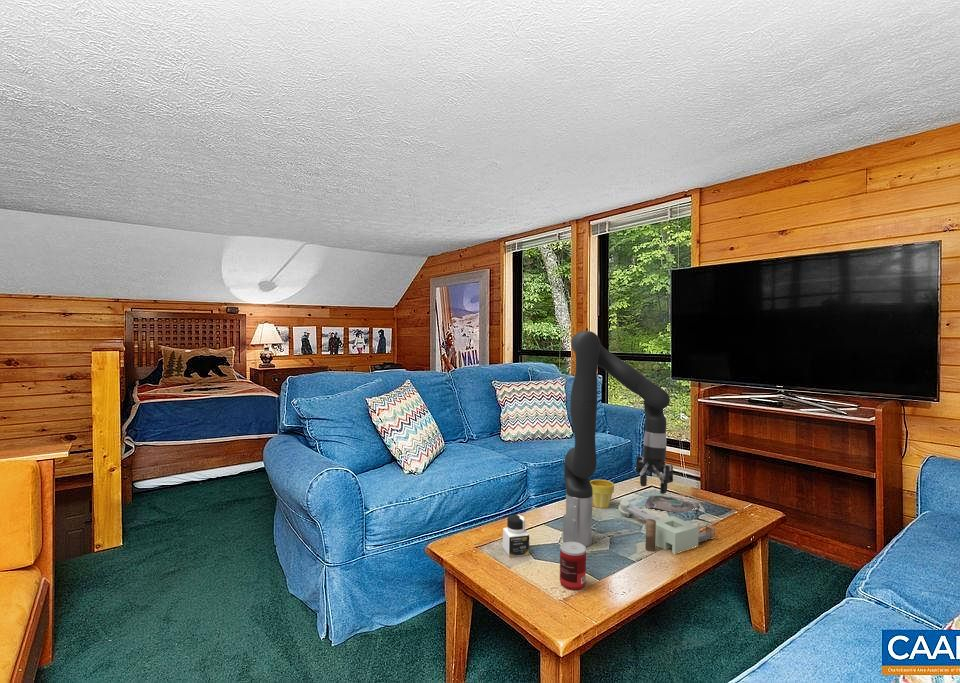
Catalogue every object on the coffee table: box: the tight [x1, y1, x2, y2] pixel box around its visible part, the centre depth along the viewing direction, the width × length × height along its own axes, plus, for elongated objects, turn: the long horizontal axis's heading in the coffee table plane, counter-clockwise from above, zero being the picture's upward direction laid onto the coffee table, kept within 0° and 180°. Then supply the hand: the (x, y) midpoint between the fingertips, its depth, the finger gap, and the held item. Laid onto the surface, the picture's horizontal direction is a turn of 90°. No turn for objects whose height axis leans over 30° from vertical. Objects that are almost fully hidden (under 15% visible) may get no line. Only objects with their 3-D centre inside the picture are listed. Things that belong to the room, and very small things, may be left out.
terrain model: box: [644, 494, 700, 514], centre depth 208 cm, size 20×15×3 cm
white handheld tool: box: [618, 499, 662, 522], centre depth 190 cm, size 5×7×25 cm
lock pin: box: [698, 524, 716, 543], centre depth 175 cm, size 13×2×4 cm, turn 119°
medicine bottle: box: [502, 514, 530, 558], centre depth 165 cm, size 7×7×12 cm
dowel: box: [645, 519, 656, 552], centre depth 168 cm, size 3×3×10 cm
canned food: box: [559, 542, 587, 591], centre depth 145 cm, size 8×8×11 cm
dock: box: [655, 515, 700, 554], centre depth 172 cm, size 12×11×7 cm
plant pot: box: [590, 479, 615, 509], centre depth 209 cm, size 10×10×10 cm
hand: (653, 489), depth 172 cm, fingers open, 8 cm apart
